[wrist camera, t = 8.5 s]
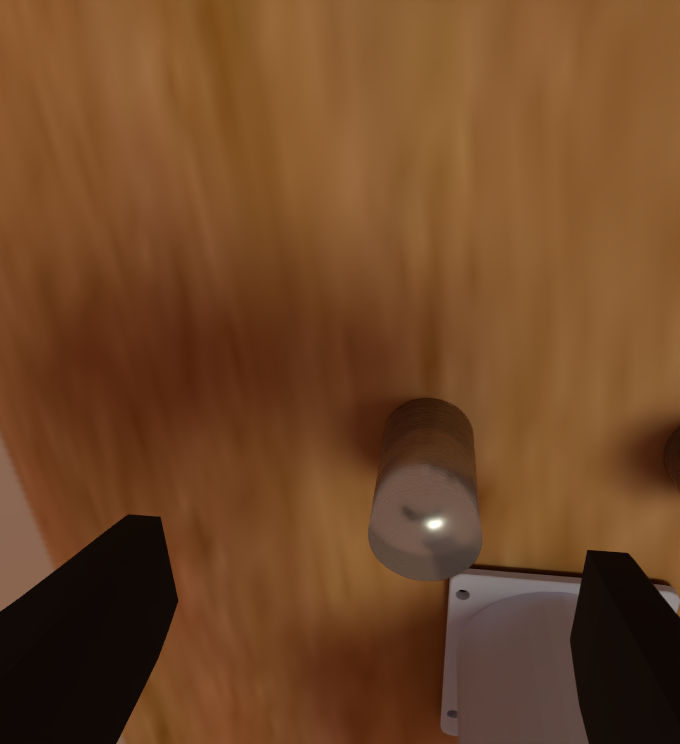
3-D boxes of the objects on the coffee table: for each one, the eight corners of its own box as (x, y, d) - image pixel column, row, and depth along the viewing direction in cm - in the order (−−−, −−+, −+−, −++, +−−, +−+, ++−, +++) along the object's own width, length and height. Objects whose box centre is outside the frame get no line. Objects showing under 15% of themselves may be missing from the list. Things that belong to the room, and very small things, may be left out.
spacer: (470, 475, 21) (477, 585, 17) (384, 470, 21) (369, 576, 17) (476, 400, 20) (485, 498, 15) (383, 396, 20) (367, 490, 16)
